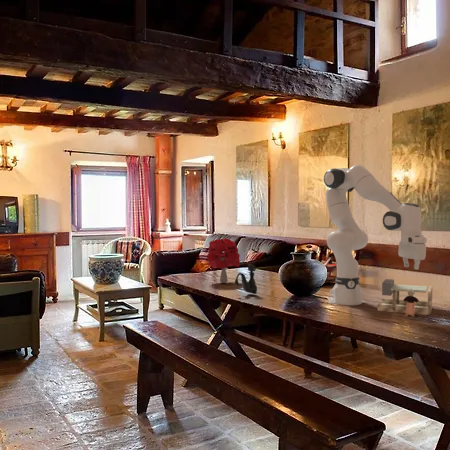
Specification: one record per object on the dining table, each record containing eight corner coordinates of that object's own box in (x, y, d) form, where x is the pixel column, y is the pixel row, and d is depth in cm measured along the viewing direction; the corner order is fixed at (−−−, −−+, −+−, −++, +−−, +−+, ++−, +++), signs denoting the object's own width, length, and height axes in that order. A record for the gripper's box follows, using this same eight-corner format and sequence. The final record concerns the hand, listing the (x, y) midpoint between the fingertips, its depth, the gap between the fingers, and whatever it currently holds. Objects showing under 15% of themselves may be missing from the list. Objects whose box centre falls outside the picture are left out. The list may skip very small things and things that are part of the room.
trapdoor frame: (377, 310, 238) (377, 288, 237) (382, 304, 254) (382, 283, 253) (430, 315, 228) (430, 291, 227) (432, 307, 243) (432, 285, 243)
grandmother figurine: (402, 316, 226) (402, 288, 225) (402, 314, 229) (402, 287, 229) (420, 317, 223) (420, 289, 223) (419, 315, 227) (419, 288, 226)
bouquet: (200, 281, 334) (200, 238, 333) (227, 278, 349) (226, 236, 348) (220, 285, 318) (220, 239, 317) (247, 281, 333) (247, 237, 332)
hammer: (382, 295, 238) (382, 282, 238) (385, 290, 251) (385, 278, 251) (425, 298, 230) (425, 285, 230) (427, 293, 242) (427, 281, 242)
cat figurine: (231, 293, 288) (230, 263, 287) (250, 291, 295) (250, 261, 295) (240, 296, 280) (240, 264, 279) (260, 293, 287) (259, 263, 286)
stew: (320, 278, 346) (320, 256, 346) (348, 282, 327) (348, 258, 327) (293, 282, 329) (293, 258, 328) (320, 286, 310) (320, 261, 310)
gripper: (394, 237, 235) (395, 265, 235) (414, 239, 215) (415, 270, 215) (407, 237, 236) (407, 265, 236) (428, 239, 215) (428, 270, 216)
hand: (411, 268), depth 225 cm, fingers open, 8 cm apart
